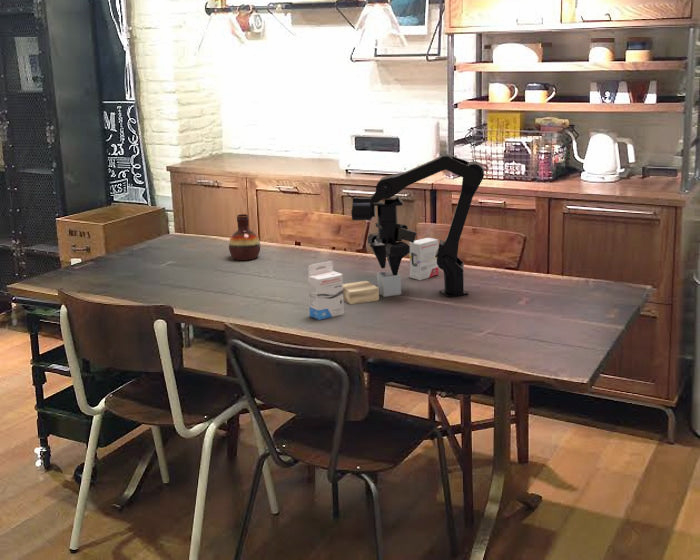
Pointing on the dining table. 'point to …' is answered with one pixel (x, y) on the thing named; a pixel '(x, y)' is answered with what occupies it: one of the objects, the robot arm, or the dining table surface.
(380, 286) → the gray paneled cube
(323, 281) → the ink box
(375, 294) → the beige square block
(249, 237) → the vase
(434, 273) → the ink box
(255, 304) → the dining table surface
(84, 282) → the dining table surface
